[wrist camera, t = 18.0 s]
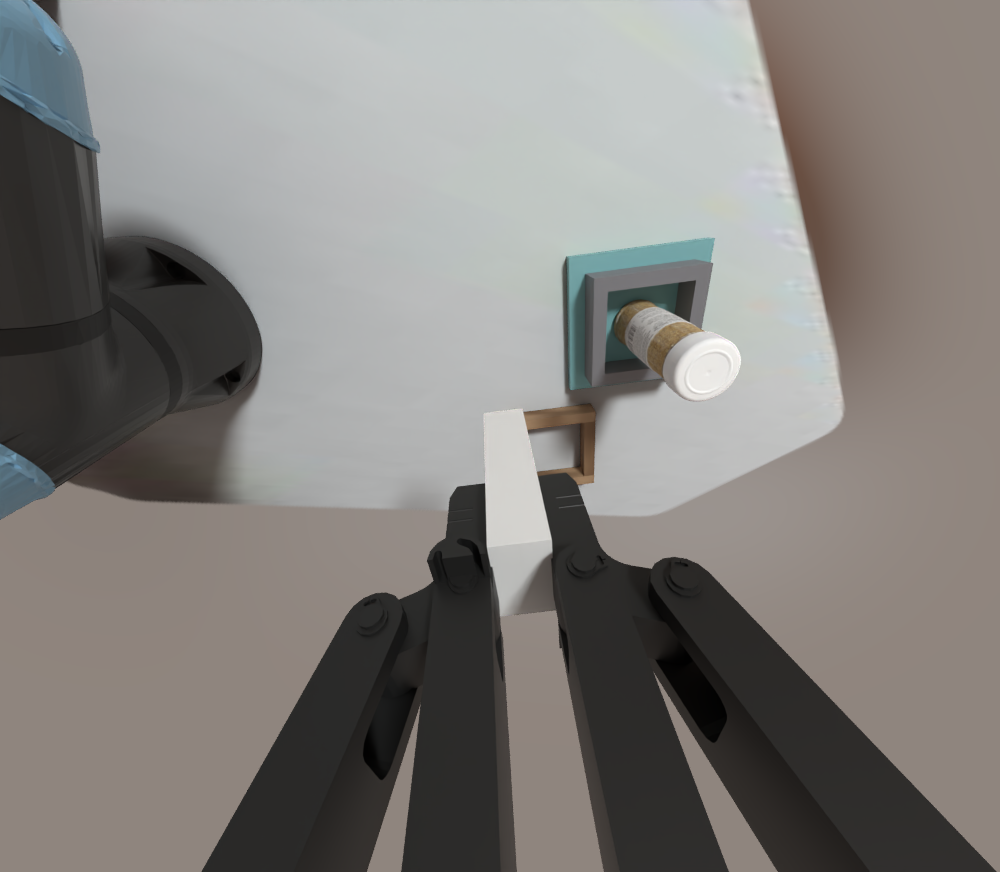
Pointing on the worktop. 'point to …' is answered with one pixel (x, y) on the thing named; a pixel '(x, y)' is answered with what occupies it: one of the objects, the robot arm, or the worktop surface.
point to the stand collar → (587, 436)
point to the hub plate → (614, 283)
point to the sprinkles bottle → (678, 350)
